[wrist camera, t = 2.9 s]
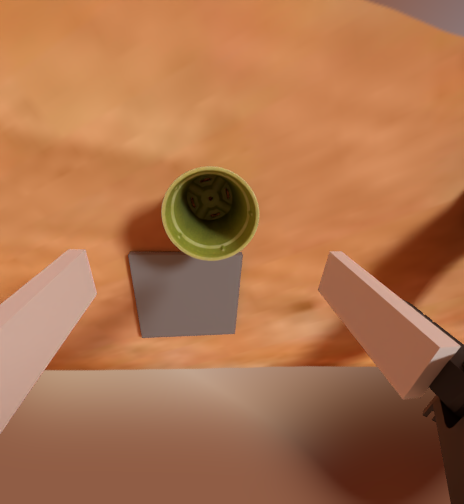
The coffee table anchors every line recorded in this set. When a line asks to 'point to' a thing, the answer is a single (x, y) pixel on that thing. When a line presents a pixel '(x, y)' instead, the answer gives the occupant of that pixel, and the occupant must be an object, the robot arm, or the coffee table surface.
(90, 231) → the coffee table surface
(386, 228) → the coffee table surface
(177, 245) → the plant pot
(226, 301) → the mat
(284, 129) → the coffee table surface
